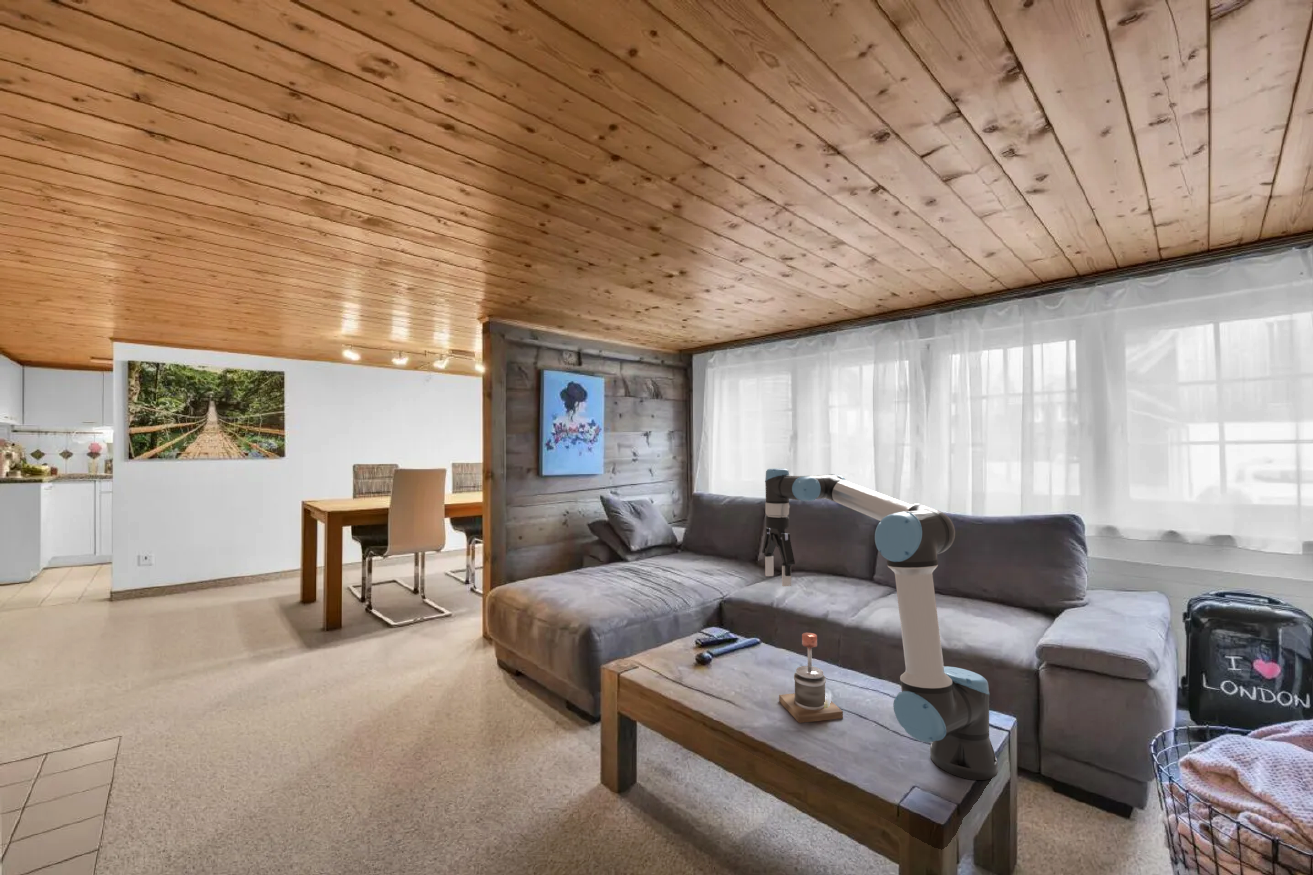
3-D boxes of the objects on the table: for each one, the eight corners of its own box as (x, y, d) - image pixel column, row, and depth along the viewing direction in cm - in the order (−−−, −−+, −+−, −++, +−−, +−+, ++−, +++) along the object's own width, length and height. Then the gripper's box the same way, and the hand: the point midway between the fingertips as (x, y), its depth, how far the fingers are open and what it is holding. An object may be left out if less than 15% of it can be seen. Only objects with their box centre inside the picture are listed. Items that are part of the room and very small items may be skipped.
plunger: (828, 677, 166) (827, 638, 167) (803, 680, 165) (803, 640, 165) (815, 667, 174) (815, 629, 174) (791, 669, 173) (791, 631, 173)
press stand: (842, 718, 164) (842, 684, 164) (799, 722, 161) (798, 688, 161) (819, 696, 178) (819, 665, 178) (779, 701, 175) (778, 669, 175)
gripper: (805, 520, 169) (806, 589, 169) (772, 510, 194) (773, 571, 194) (782, 521, 168) (783, 591, 168) (752, 511, 192) (752, 572, 192)
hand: (777, 580), depth 181 cm, fingers open, 13 cm apart
